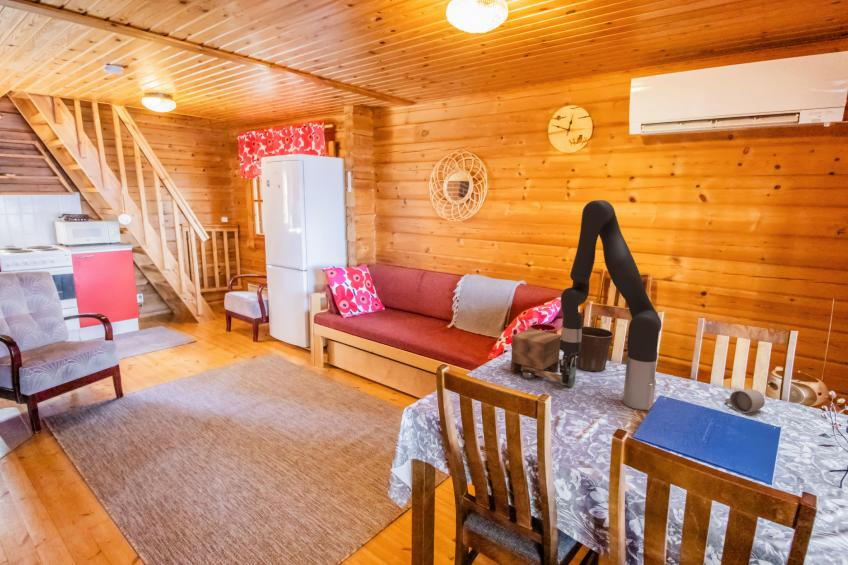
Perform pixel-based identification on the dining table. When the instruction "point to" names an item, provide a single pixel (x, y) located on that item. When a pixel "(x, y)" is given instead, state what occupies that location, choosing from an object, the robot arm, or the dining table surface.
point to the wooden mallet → (553, 374)
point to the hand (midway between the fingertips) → (567, 381)
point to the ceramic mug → (746, 400)
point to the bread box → (535, 350)
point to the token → (528, 374)
